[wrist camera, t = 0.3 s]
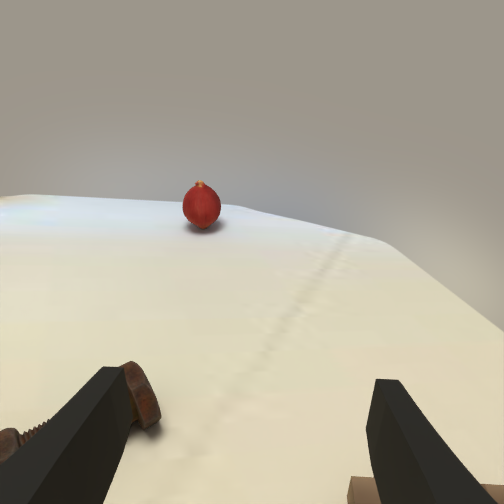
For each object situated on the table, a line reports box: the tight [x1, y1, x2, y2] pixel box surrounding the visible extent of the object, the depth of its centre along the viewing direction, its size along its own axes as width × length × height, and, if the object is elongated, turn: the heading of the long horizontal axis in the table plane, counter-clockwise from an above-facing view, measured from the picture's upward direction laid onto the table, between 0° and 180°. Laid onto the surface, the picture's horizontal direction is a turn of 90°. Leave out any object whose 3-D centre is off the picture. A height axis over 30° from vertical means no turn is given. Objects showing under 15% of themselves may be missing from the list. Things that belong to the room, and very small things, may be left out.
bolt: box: [0, 361, 161, 464], centre depth 31 cm, size 6×5×15 cm
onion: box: [183, 180, 221, 229], centre depth 62 cm, size 6×6×8 cm
